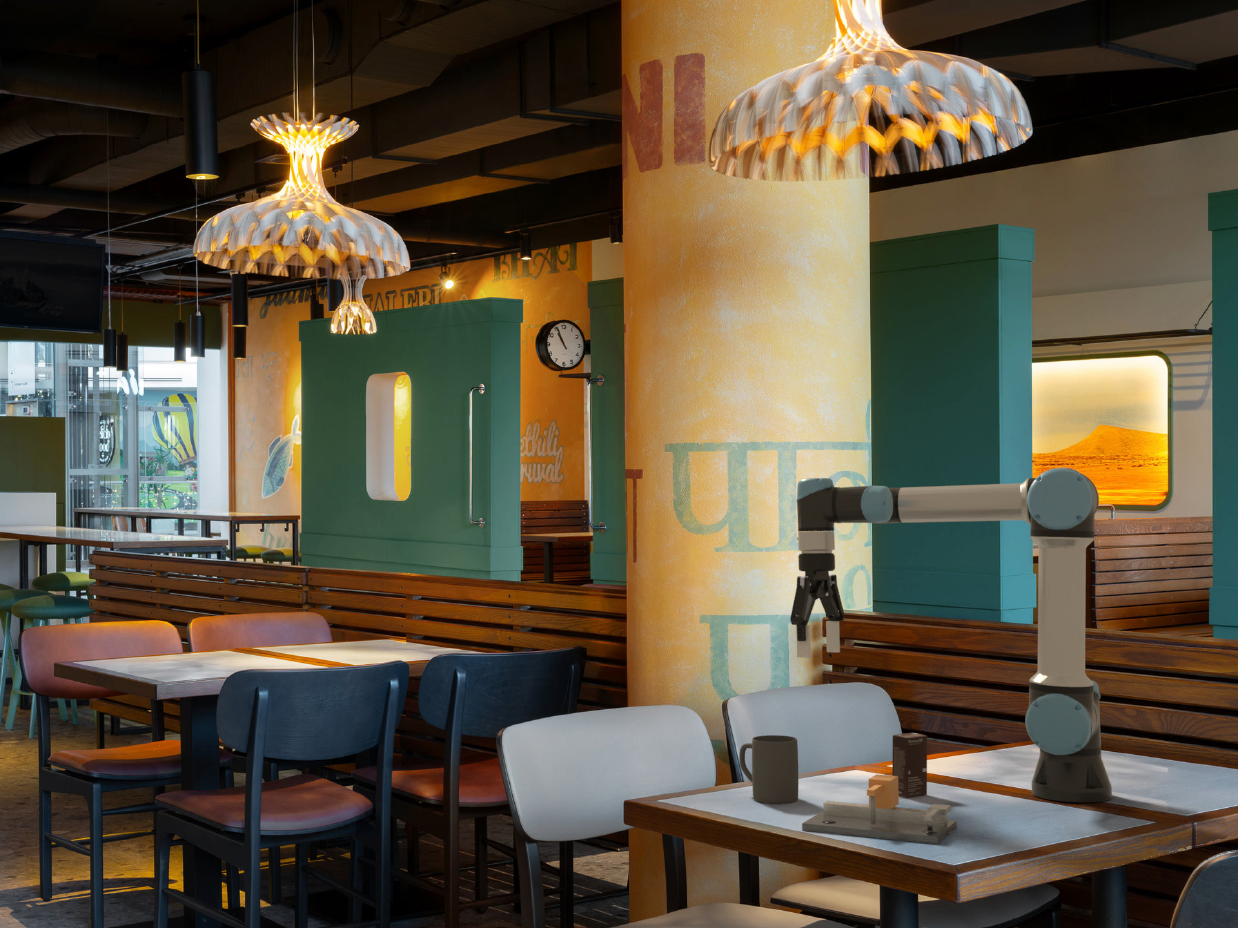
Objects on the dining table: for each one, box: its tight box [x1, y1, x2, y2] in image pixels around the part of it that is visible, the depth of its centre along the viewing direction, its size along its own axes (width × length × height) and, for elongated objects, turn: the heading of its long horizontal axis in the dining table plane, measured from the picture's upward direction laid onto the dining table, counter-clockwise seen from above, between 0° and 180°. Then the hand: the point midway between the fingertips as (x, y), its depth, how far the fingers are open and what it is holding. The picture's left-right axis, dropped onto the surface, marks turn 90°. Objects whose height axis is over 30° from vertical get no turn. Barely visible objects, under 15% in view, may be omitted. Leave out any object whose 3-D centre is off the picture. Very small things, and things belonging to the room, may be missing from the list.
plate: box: [801, 810, 958, 845], centre depth 227 cm, size 24×14×1 cm, turn 62°
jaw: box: [866, 774, 900, 824], centre depth 227 cm, size 4×11×7 cm, turn 152°
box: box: [891, 732, 928, 798], centre depth 257 cm, size 6×4×12 cm
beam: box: [823, 800, 952, 831], centre depth 227 cm, size 22×10×3 cm, turn 62°
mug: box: [738, 734, 799, 805], centre depth 255 cm, size 14×9×12 cm
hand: (818, 654), depth 264 cm, fingers open, 13 cm apart
